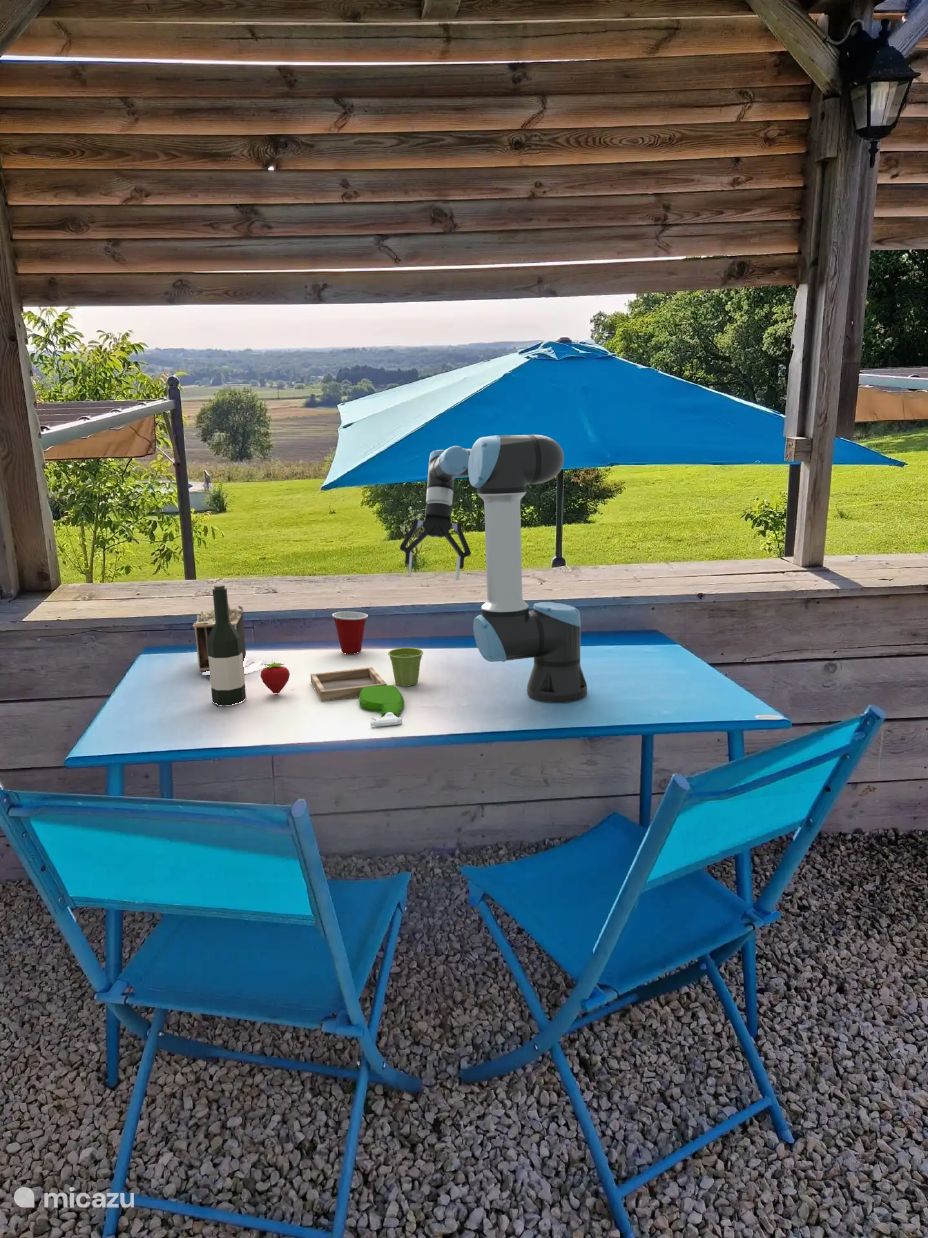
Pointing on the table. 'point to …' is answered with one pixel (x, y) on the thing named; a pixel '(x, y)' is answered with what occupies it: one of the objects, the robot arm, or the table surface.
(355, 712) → the table surface
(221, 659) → the wine bottle
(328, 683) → the square wooden tray
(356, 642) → the plastic cup
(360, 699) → the spray bottle
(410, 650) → the plant pot
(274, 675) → the strawberry
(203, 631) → the wooden crate with straw
